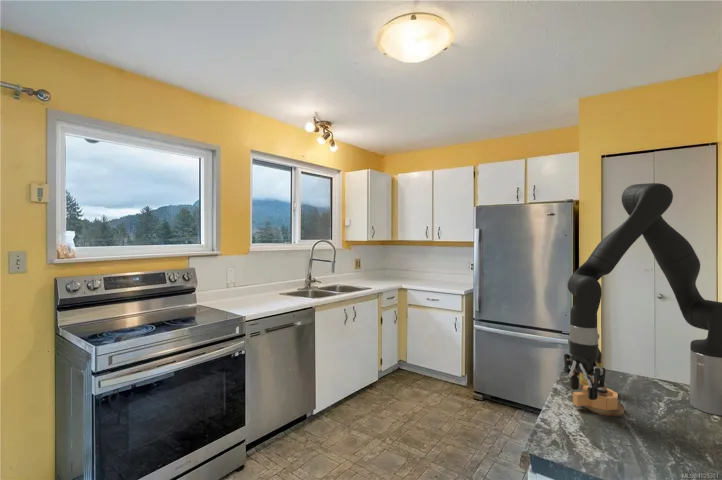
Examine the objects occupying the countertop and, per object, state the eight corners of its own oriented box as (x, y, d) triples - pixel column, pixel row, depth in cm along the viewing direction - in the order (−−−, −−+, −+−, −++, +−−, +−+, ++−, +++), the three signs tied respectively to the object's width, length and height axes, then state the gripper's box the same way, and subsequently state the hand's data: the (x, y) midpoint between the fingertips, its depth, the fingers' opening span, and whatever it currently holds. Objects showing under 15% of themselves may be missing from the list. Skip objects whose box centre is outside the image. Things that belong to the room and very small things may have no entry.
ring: (600, 395, 114) (600, 384, 114) (625, 408, 105) (625, 397, 105) (564, 398, 112) (564, 387, 112) (586, 412, 103) (586, 400, 103)
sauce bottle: (575, 387, 124) (575, 331, 124) (588, 384, 126) (588, 329, 125) (592, 395, 118) (592, 336, 117) (606, 392, 119) (606, 334, 119)
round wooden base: (603, 398, 115) (603, 373, 115) (633, 414, 105) (633, 387, 105) (572, 400, 114) (573, 375, 114) (600, 417, 103) (600, 390, 103)
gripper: (614, 346, 101) (614, 404, 102) (576, 333, 116) (576, 383, 116) (591, 348, 100) (591, 406, 101) (556, 334, 115) (556, 385, 115)
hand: (583, 393), depth 108 cm, fingers open, 6 cm apart
